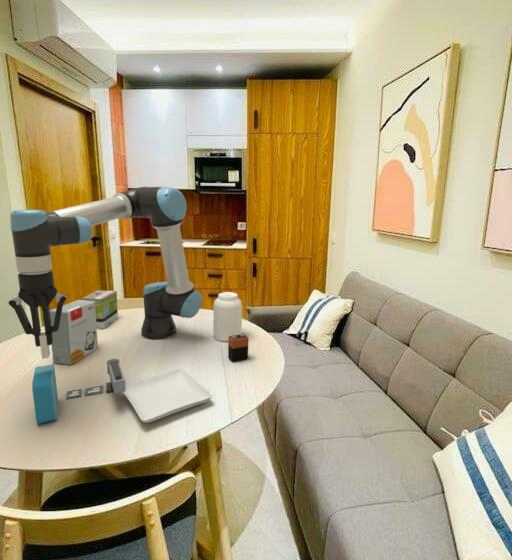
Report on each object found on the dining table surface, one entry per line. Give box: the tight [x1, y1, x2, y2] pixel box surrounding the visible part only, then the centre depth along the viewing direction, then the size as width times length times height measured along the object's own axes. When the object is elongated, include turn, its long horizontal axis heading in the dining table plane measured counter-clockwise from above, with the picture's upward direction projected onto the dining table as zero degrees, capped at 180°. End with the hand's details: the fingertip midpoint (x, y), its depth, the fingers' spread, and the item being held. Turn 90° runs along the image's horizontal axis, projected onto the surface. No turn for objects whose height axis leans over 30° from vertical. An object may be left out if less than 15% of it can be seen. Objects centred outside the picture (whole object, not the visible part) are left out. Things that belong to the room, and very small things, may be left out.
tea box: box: [81, 289, 119, 330], centre depth 159 cm, size 15×10×15 cm, turn 179°
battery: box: [227, 332, 250, 363], centre depth 128 cm, size 4×7×10 cm, turn 118°
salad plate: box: [121, 368, 213, 423], centre depth 101 cm, size 21×21×3 cm
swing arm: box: [106, 358, 126, 395], centre depth 100 cm, size 15×4×5 cm, turn 30°
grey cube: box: [105, 378, 114, 394], centre depth 106 cm, size 5×5×5 cm
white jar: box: [212, 291, 243, 342], centre depth 147 cm, size 12×12×20 cm
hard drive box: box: [50, 299, 99, 366], centre depth 125 cm, size 16×8×20 cm, turn 168°
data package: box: [31, 363, 59, 425], centre depth 92 cm, size 12×4×12 cm, turn 29°
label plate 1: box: [65, 388, 83, 400], centre depth 102 cm, size 4×4×1 cm
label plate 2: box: [84, 385, 104, 397], centre depth 104 cm, size 5×4×1 cm
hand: (46, 356), depth 91 cm, fingers closed
